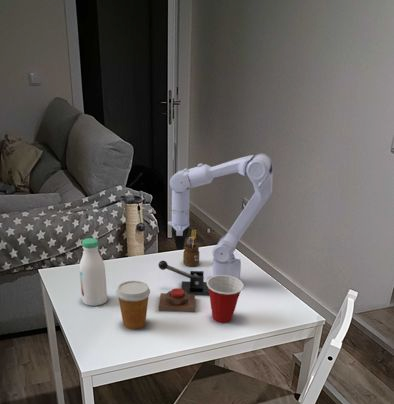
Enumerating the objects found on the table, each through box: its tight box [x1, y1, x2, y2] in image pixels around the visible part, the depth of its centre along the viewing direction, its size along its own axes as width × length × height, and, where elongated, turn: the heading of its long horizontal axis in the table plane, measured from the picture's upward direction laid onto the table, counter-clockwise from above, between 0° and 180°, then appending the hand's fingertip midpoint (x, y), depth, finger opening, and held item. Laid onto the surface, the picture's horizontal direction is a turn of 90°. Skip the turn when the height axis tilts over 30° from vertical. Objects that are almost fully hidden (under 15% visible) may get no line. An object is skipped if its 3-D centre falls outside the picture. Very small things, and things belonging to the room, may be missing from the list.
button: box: [170, 287, 184, 298], centre depth 153 cm, size 4×4×2 cm
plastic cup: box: [206, 275, 245, 324], centre depth 145 cm, size 11×11×12 cm
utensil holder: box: [182, 229, 200, 267], centre depth 180 cm, size 6×6×12 cm
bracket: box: [180, 270, 210, 297], centre depth 163 cm, size 10×8×6 cm
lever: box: [157, 260, 200, 279], centre depth 161 cm, size 15×3×3 cm, turn 90°
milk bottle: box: [79, 237, 108, 307], centre depth 150 cm, size 8×8×20 cm
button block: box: [158, 290, 196, 313], centre depth 154 cm, size 11×9×4 cm
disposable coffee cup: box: [115, 280, 151, 331], centre depth 140 cm, size 10×10×12 cm
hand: (179, 248), depth 167 cm, fingers closed
